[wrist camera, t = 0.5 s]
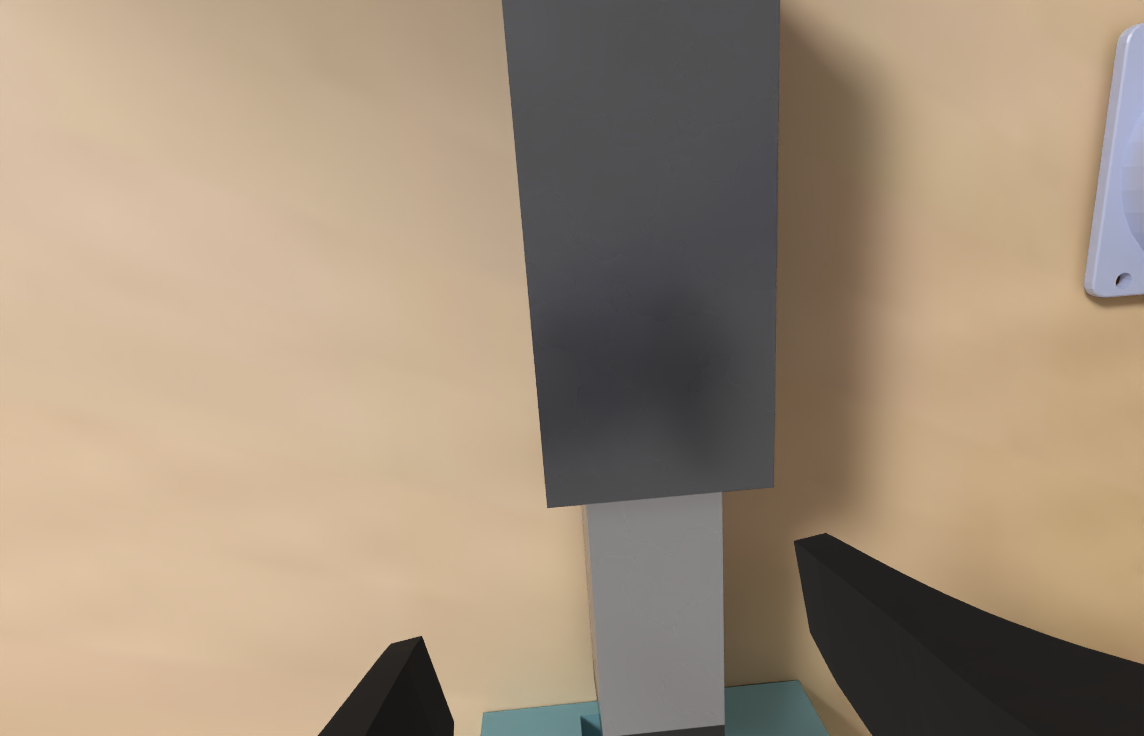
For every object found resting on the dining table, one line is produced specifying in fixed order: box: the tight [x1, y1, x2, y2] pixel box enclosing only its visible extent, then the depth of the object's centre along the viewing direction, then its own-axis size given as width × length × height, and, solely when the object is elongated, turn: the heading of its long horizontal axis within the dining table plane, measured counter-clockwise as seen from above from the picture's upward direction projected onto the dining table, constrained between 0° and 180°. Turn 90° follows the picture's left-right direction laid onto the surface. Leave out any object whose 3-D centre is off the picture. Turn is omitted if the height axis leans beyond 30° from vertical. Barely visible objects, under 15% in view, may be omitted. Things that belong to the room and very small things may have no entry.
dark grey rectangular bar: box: [502, 0, 780, 508], centre depth 16 cm, size 6×14×6 cm, turn 4°
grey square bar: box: [581, 492, 725, 736], centre depth 18 cm, size 4×18×4 cm, turn 4°
